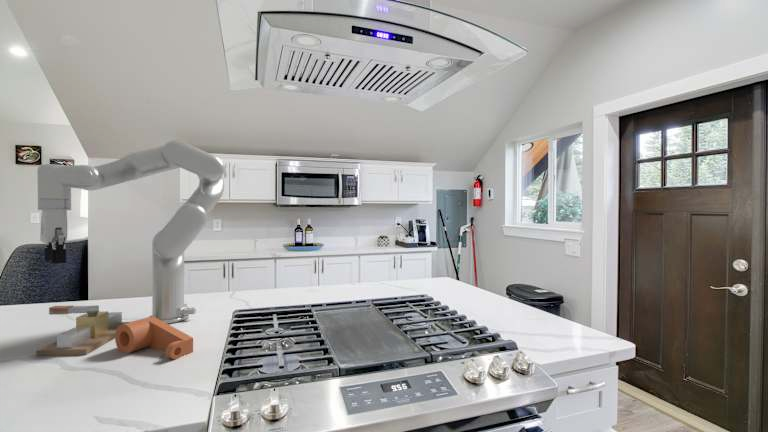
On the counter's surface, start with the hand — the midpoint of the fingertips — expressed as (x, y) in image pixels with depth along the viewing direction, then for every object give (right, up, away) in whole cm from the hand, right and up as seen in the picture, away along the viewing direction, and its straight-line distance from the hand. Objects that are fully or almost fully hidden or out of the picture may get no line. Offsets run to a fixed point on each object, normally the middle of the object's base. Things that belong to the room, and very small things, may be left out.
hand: (55, 261), depth 110 cm
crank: (+37, -23, -11) cm, 45 cm away
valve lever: (+9, -15, -4) cm, 18 cm away
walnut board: (+14, -23, -3) cm, 27 cm away
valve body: (+14, -21, -3) cm, 26 cm away
